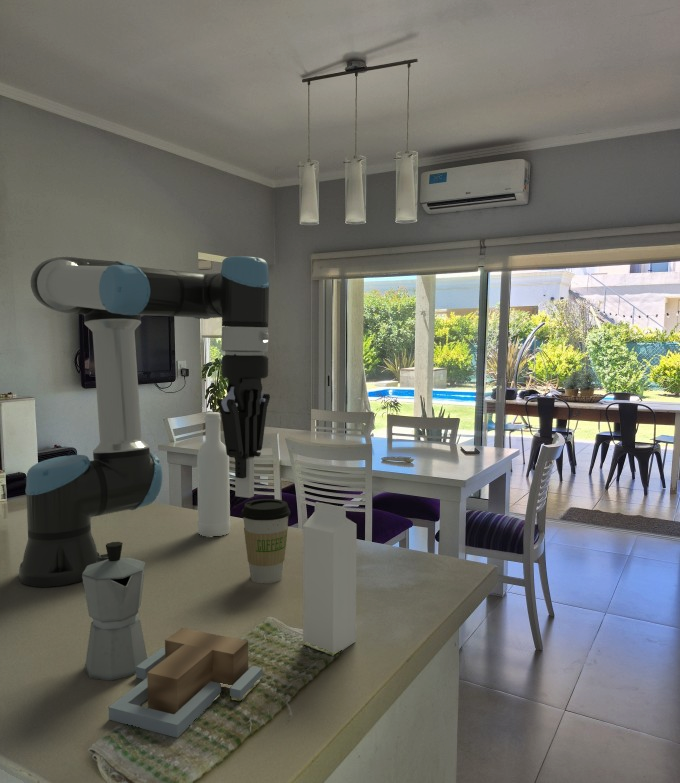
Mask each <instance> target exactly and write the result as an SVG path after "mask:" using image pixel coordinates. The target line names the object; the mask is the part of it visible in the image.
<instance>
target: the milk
mask: <svg viewBox="0 0 680 783" xmlns="http://www.w3.org/2000/svg"><path fill="white" fill-rule="evenodd" d="M346 511H347V510H346V508H345V506H344V507H343V506H340V505H339V506H338V505H333V504H330V503H323V502H318V501H316V502H314V512H313V513H312V515H311V516H310V517H309V518H308V519H307V520H306V521H305V523H304V524H303V525H302V642H303V641H304V642H308V643H310V644H313V645H316V646H318V647H320V648H323V649H326V650H328V651H330V652H332V653H334V652H336V651H338V650H342V651H344V650H346V648H349V646H351V645H352V644H354V643H356V642H357V523H355V522H354V521H352V520H351V519H349V518H348V517H347V516H346V515H347V514H346Z"/></svg>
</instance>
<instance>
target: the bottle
mask: <svg viewBox="0 0 680 783" xmlns="http://www.w3.org/2000/svg"><path fill="white" fill-rule="evenodd" d="M221 421H222V417H221V412H220V411H219V412H218V411H217V412H215V411H212V412H208V411H207V412H206V413H205V414H204V422H205V424H204V425H205V426H204V427H205V430H204V431H205V441H204V442H203V443H202V444H201V445H200V446H199V448H198V451H197V455H196V460H197V461H196V462H197V463H196V464H197V468H196V470H197V476H196V477H197V533H198V535H199V534H200V535H199V536H201V535H202V536H201V537H203V536H221V537H223V536H222V535H224V536H227V535H229V533H230V532H231V510H230V508H231V504H230V500H231V498H230V496H231V495H230V492H231V491H230V489H231V488H230V457H229V456H228V455H227V453H226V446H225V443H223V442H222V441H221ZM226 534H227V535H226Z"/></svg>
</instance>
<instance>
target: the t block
mask: <svg viewBox="0 0 680 783" xmlns="http://www.w3.org/2000/svg"><path fill="white" fill-rule="evenodd" d="M164 648H165V659H164V660H163V661H162V662H160V663H159V664H158V665H156V666H155V667H154V668H152V669H151V670H150V671H149V672H147V682H148V699H147V708H150V709H154V710H158V711H162V712H166V713H170V714H175V713H176V712H178V711H179V710H180V709H181V708H182V707H183V706H184V705H185V704H186V703H187V702H188V701H190V700H191V699H192V698H193V697H194V696H195V695H196V694H197V693H198V692H199V691H200V690H202V689H203V688H204V687H205V686H206V685H207V684H208V683H209V682H210V681H212V682H216V683H223V684H228V685H233V684H234V683H235V682H236V681H237V680H238V679H239V678H240V677H241V676H242V675H243V674H244V673H245V672H246V671H247V670H249V640H246V639H239V638H235V637H231V636H225V635H219V634H214V633H210V632H204V631H199V630H193V629H188V628H183V627H181V628H180V629H178V630H177V631H176V632H174V633H172V634H171V635H170V636H169V637H167V638H166V639H165V640H164Z"/></svg>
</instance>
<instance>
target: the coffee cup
mask: <svg viewBox="0 0 680 783" xmlns="http://www.w3.org/2000/svg"><path fill="white" fill-rule="evenodd" d="M240 512H241V513H240V516H241V517H242V519H243V525H244V527H243V531H244V540H245V542H244V543H245V548H246V556H247V562H248V566H249V568H248V569H249V574H250V576H249V577H250V580H251V581H252V582H254V583H256V582H257V583H256V584H263V583H264V585H265V584H273V583H277V582H279V581H281V579H282V577H283V571H284V561H285V558H286V557H285V556H286V550H287V549H286V548H287V539H288V530H289V526H288V524H289V516H290V515H291V509H290V508H289V505H288V502H287V501H285V500H282V499H277V498H260V499H253V500H249V501H246V502H244V505H243V509H242V510H241V511H240Z"/></svg>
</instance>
